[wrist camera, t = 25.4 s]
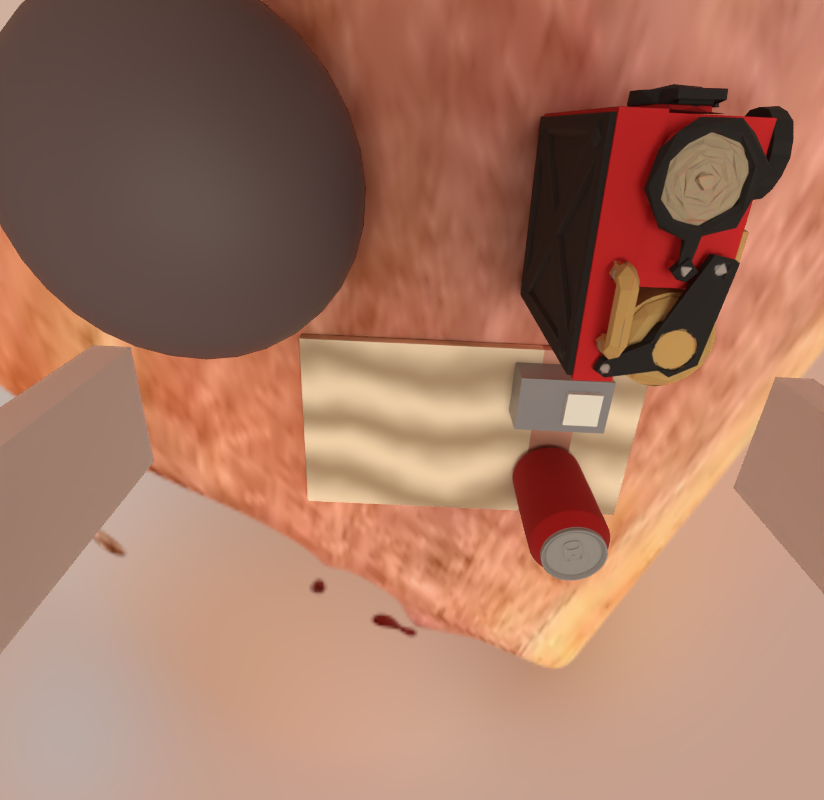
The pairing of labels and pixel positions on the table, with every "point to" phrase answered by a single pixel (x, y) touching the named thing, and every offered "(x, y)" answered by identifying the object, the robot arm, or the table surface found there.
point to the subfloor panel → (438, 423)
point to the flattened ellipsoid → (177, 170)
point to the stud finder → (558, 400)
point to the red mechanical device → (644, 228)
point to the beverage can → (560, 514)
